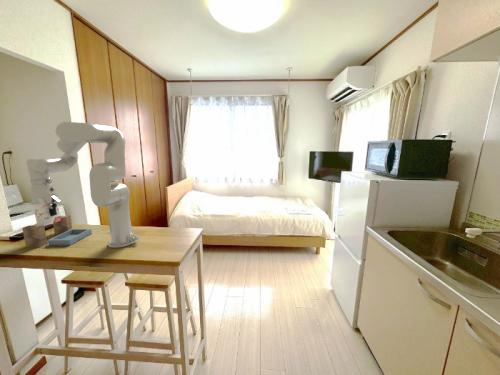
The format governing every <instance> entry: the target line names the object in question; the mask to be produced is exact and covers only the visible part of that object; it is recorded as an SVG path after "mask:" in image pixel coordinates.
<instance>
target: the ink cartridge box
mask: <svg viewBox="0 0 500 375" xmlns="http://www.w3.org/2000/svg"><path fill="white" fill-rule="evenodd" d="M38 201H39V203H37V204H31V205H32V208H33V213H34V217H35V222H36V224H37V225H36V226H44V227H46V226H49V225H53V223H55V222H58V221H61V218H60V216H61V213H60V210H59V204H58V205H57V207H56V212H57V215H54V216H50V211H49V209H50V207H49V205H48V204H46V203H45V202H44V200H43V198H40V199H38ZM54 202H55V201H54ZM51 205H52V204H51Z"/></svg>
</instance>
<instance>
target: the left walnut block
mask: <svg viewBox="0 0 500 375" xmlns="http://www.w3.org/2000/svg"><path fill="white" fill-rule="evenodd" d="M22 233H23V234H22V235H23V239H24V244H25V246H26V248H27V247H29V248H30V247H33V248H36V247H37V248H38V247H39V248H40V247H42V248H43V247H44V246H47V245H48V239H47V234H46V230H45V226H37V225H26V226H24V227H22Z"/></svg>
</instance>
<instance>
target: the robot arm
mask: <svg viewBox="0 0 500 375" xmlns="http://www.w3.org/2000/svg"><path fill="white" fill-rule="evenodd" d="M55 133H56V136H57V137H58V138H59V139H58V141H57V143H56V144H57V145H56V146H57V148H58V149H59V151H61V152H63V155H62V156H60V157H58V156H57V157H44V158H43V157H42V158H41V157H39V158H29V159H26V167H27V171H28V175H29V181H30V196H31V197H30V198H31V200H30V201H29V204H31V205H32V204H37V203H39V201H38V199H40V198H43V200H44V202H45V203H46V204H48V205H49V207H50V209H49V211H50V216H54V215H57V212H56V207H57V205H58V206H59V204H60V203H61V200H60V199H59V198H58V193H57V189H56V188H55V186H54V184H53V183H52V182H53V180H52V179H51V175H50V174H52V173H62V172H66V171H68V170H70V169H71V168H73V167H74V166H75V164H77V162H78V159H79V154H78V152H79V151H81V149H82V148H83V147H84V146H85V145H86V144H87V143H89V144H106V146H105V149H104V153H103V154H104V155H103V157H104V162H99V163H96V164H94V165H93V166H92V167H91V168H90V170H89V187H90V188H89V189H90V198H91V201H92V202H93V204H94V205H95V206H96V207H100V208H106V207H107V219H108V227H109V233H110V240H109V241H108V243H107V246H108V247H109V248H113V249H115V248H116V249H118V248H124V247H127V246H130V245H132V244H134V243H135V242H137V241H139V240H140V235H139V234H135V232H132V231H133V230H132V222H131V220H132V219H131V211H130V196H131V191H130V189H129V187H128V186H127V185H126V184H124V183H120V182H119V181H121V180H123V179H125V177H126V173H127V172H126V154H125V153H126V140H125V136H124V134H123V133H122V131H120V130H119V129H118V128H116V127H114V126H111V125H107V124H96V123H90V122H76V121H62V122H60V123H58V124H57V125H56V127H55ZM115 182H116V183H115ZM54 201H55V202H54ZM51 204H52V205H51Z"/></svg>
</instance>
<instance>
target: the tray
mask: <svg viewBox="0 0 500 375" xmlns="http://www.w3.org/2000/svg"><path fill="white" fill-rule="evenodd" d="M92 231H93V230H92V228H72V229H71V230H69V231H66V232H64V233H62V234H58V235H56V236H53V237H51V238H49V239H47V245H48V246H50V247H51V246H53V247H54V246H55V247H57V246H58V247H59V246H60V247H61V246H62V247H63V246H73V245H75V244H76V243H77V242H80V241H81V240H84V239H85V238H88V237H89V236H90V235H92V234H93V232H92Z"/></svg>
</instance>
